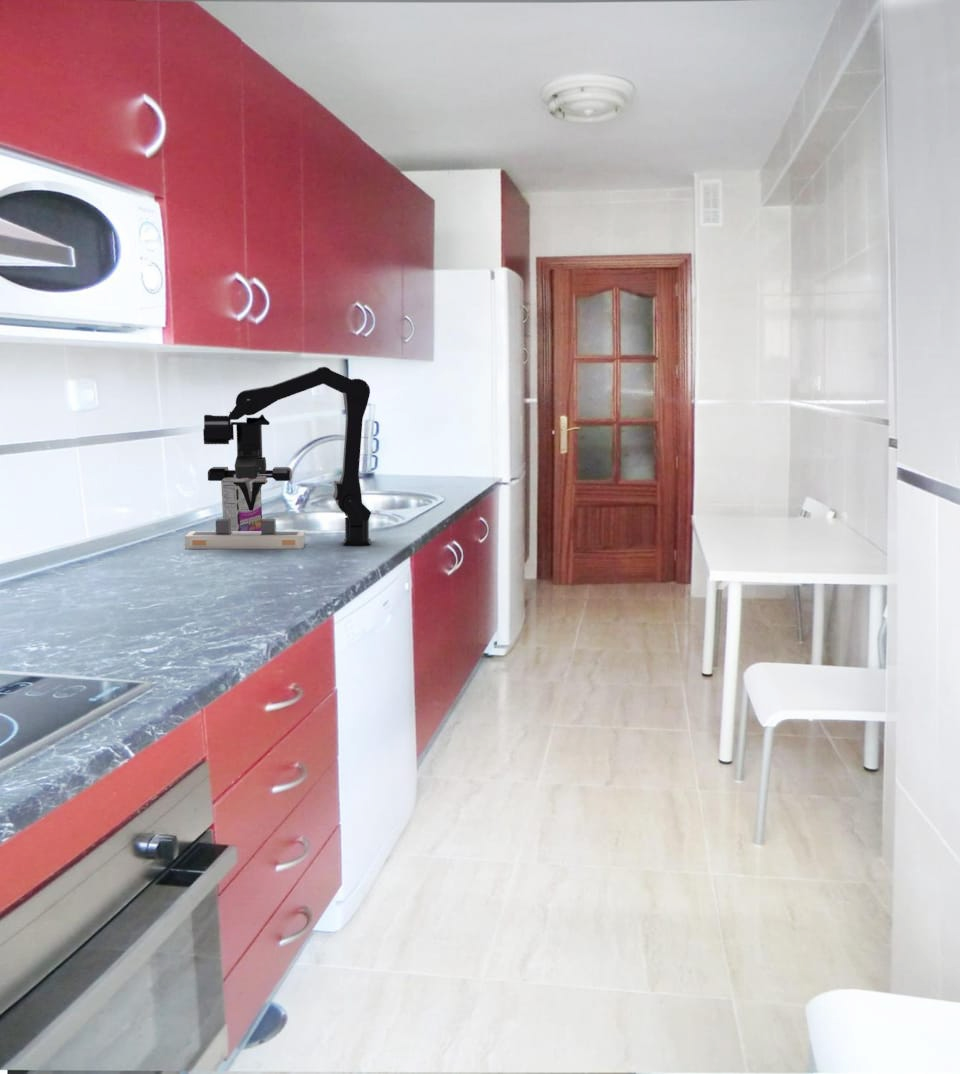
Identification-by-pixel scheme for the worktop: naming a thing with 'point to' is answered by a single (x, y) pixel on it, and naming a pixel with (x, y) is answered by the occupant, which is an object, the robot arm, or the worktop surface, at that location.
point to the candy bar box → (240, 507)
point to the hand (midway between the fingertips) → (251, 510)
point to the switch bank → (245, 540)
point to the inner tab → (268, 525)
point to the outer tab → (223, 525)
